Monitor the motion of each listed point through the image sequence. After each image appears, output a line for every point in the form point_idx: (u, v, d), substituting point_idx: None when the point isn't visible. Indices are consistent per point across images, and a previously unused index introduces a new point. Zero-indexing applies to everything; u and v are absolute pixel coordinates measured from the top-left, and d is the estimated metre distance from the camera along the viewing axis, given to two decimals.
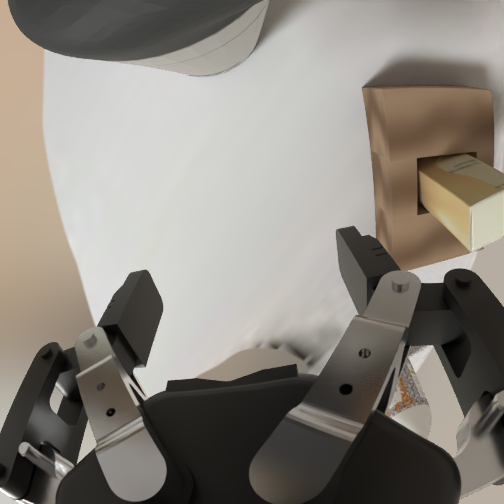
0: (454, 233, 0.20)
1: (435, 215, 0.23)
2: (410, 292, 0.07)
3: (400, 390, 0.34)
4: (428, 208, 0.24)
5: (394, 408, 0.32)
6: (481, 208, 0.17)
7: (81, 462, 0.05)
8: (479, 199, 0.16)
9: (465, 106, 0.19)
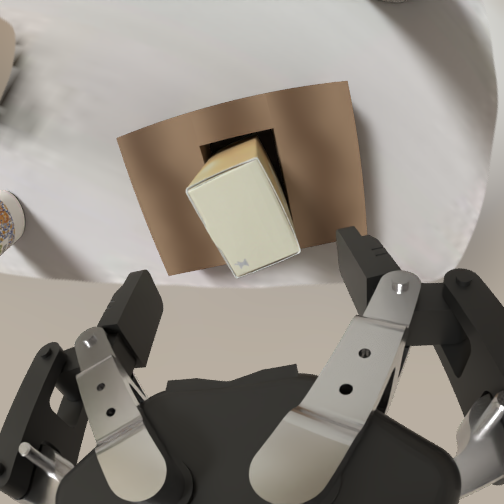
0: (199, 174, 0.17)
1: (206, 163, 0.20)
2: (410, 292, 0.07)
3: None
4: (211, 159, 0.22)
5: None
6: (257, 181, 0.15)
7: (81, 462, 0.05)
8: (267, 175, 0.15)
9: (344, 194, 0.23)
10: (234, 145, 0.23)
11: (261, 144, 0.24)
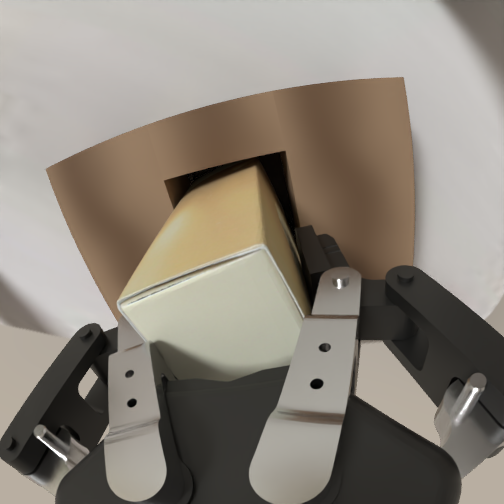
0: (151, 250, 0.09)
1: (173, 213, 0.12)
2: (347, 287, 0.08)
3: None
4: (182, 202, 0.13)
5: None
6: (263, 295, 0.07)
7: (81, 462, 0.05)
8: (286, 278, 0.07)
9: (386, 252, 0.15)
10: (221, 175, 0.15)
11: (264, 172, 0.16)
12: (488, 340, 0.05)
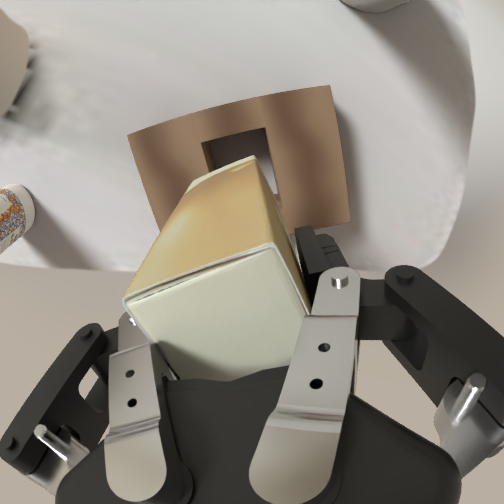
0: (154, 248, 0.09)
1: (174, 212, 0.12)
2: (347, 287, 0.08)
3: None
4: (183, 201, 0.13)
5: None
6: (271, 293, 0.07)
7: (81, 462, 0.05)
8: (293, 276, 0.07)
9: (328, 185, 0.26)
10: (221, 177, 0.15)
11: None
12: (487, 340, 0.05)
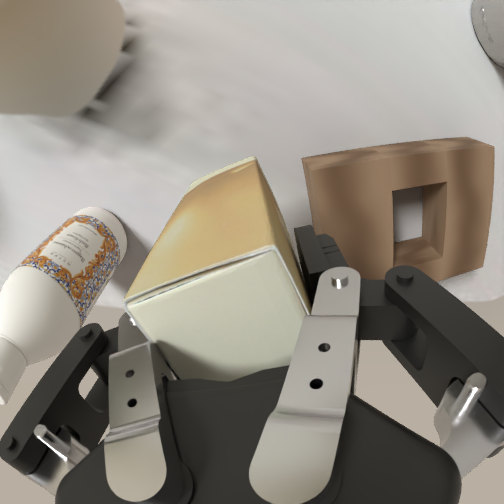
0: (155, 250, 0.09)
1: (174, 214, 0.12)
2: (346, 287, 0.08)
3: (85, 267, 0.20)
4: (183, 203, 0.13)
5: (56, 269, 0.18)
6: (272, 295, 0.07)
7: (81, 462, 0.05)
8: (294, 278, 0.07)
9: (477, 236, 0.23)
10: (221, 178, 0.15)
11: (263, 175, 0.16)
12: (488, 340, 0.05)
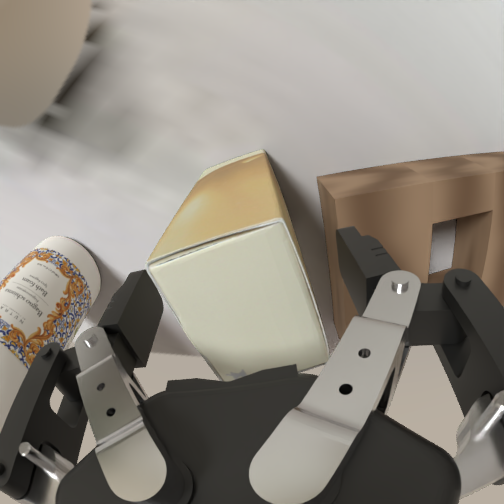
0: (174, 224, 0.10)
1: (189, 196, 0.13)
2: (409, 292, 0.07)
3: (43, 323, 0.14)
4: (197, 187, 0.15)
5: (6, 330, 0.12)
6: (277, 262, 0.08)
7: (81, 462, 0.05)
8: (297, 249, 0.08)
9: None
10: (233, 167, 0.16)
11: (271, 167, 0.17)
12: None
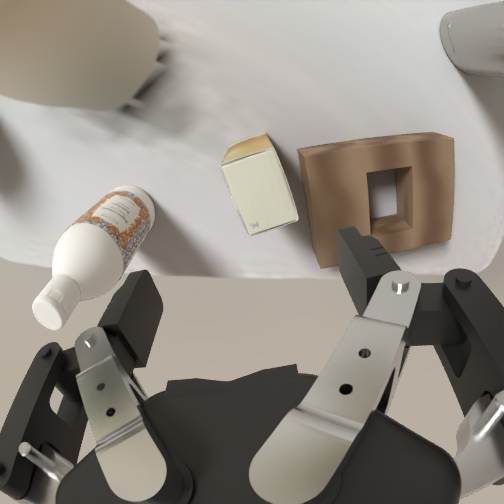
0: (226, 157, 0.23)
1: (228, 151, 0.26)
2: (410, 292, 0.07)
3: (128, 227, 0.27)
4: (231, 148, 0.27)
5: (108, 226, 0.24)
6: (272, 164, 0.21)
7: (81, 462, 0.05)
8: (279, 161, 0.21)
9: (442, 212, 0.31)
10: (249, 140, 0.29)
11: None
12: None
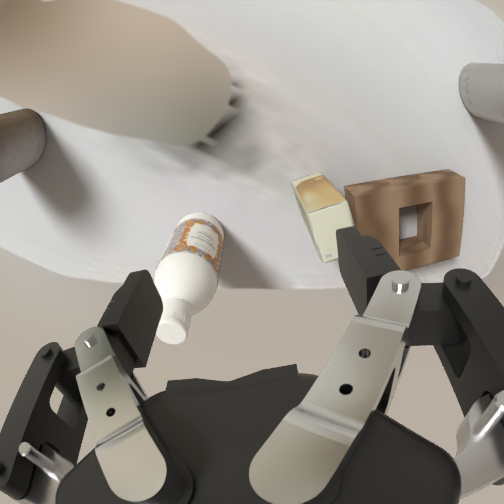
0: (306, 202, 0.31)
1: (300, 193, 0.34)
2: (410, 292, 0.07)
3: (216, 253, 0.35)
4: (300, 190, 0.35)
5: (204, 254, 0.32)
6: (344, 213, 0.28)
7: (81, 462, 0.05)
8: (349, 209, 0.29)
9: (453, 235, 0.38)
10: (311, 181, 0.36)
11: None
12: None
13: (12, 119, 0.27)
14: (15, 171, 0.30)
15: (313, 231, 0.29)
